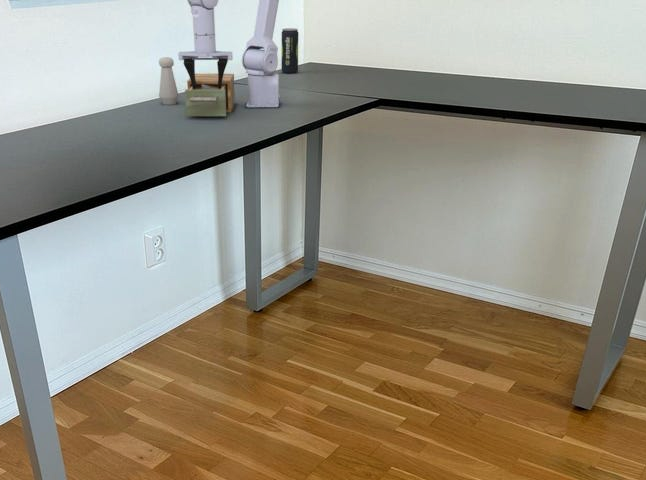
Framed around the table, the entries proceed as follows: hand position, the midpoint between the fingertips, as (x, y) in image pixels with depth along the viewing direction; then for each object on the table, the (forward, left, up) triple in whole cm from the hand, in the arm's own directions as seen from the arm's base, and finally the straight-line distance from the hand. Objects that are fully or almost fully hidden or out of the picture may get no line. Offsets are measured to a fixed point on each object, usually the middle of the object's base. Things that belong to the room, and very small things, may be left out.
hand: (207, 88), depth 195 cm
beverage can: (-22, -79, -8) cm, 82 cm away
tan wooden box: (0, -11, -7) cm, 13 cm away
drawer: (0, +2, -6) cm, 7 cm away
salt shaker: (+14, -18, -8) cm, 24 cm away
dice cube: (0, 0, -5) cm, 5 cm away
